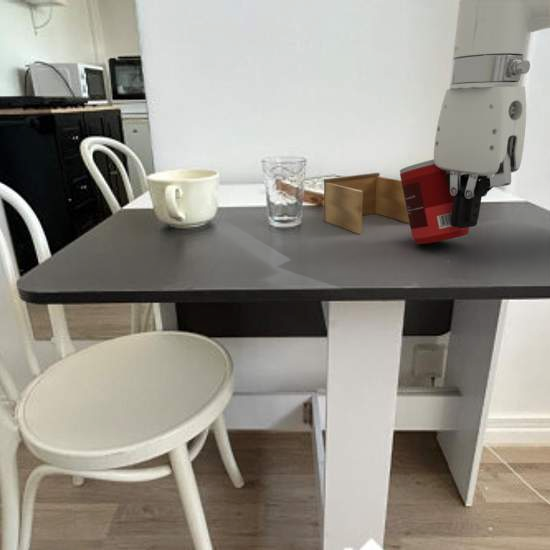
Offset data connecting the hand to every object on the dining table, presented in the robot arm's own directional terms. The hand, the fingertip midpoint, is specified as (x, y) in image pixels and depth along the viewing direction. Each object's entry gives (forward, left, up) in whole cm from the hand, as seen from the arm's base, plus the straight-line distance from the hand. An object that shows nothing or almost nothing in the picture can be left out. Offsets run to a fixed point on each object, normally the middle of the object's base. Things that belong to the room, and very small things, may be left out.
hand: (463, 225), depth 58 cm
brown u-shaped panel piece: (+12, -18, -4) cm, 22 cm away
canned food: (+2, -4, -3) cm, 5 cm away
